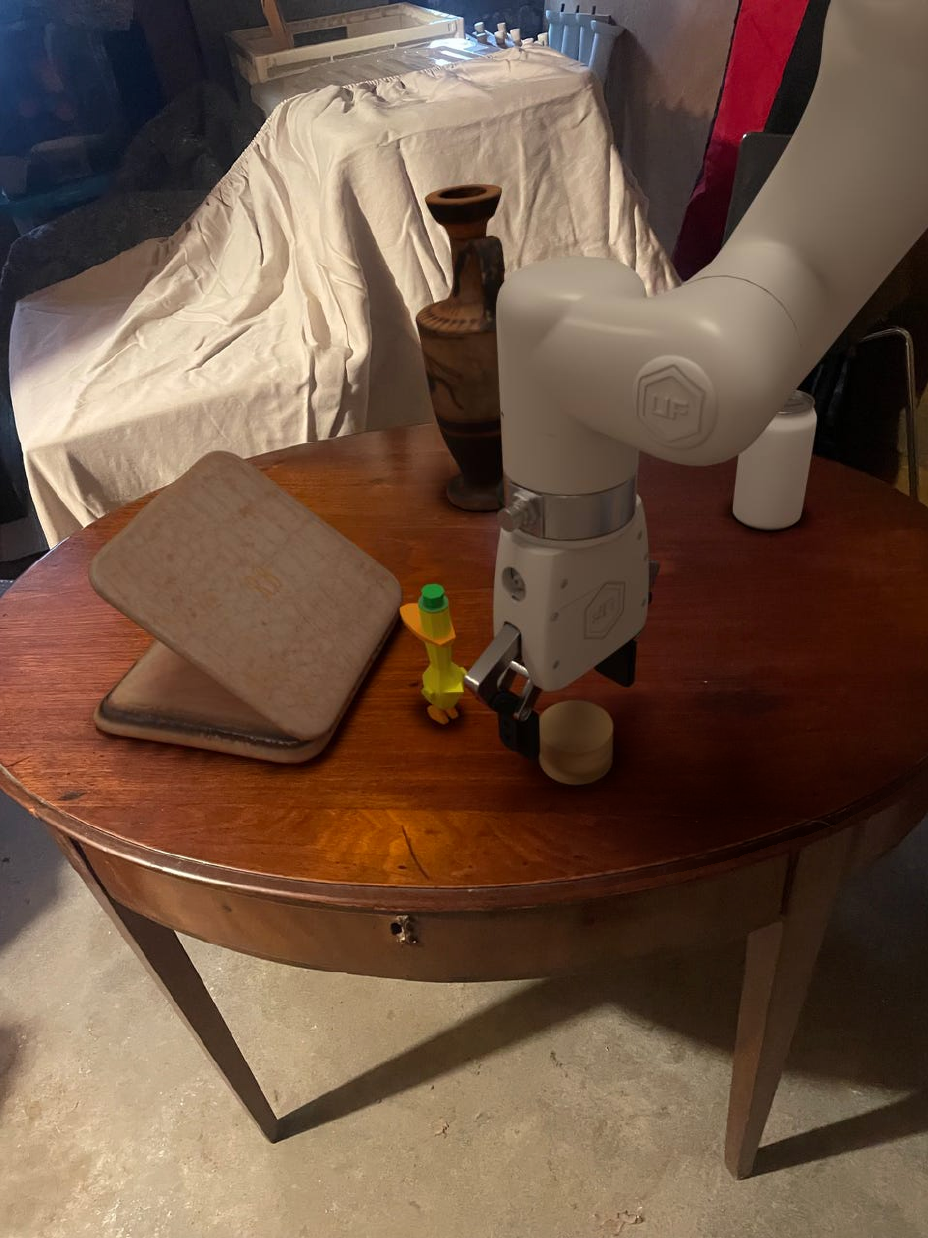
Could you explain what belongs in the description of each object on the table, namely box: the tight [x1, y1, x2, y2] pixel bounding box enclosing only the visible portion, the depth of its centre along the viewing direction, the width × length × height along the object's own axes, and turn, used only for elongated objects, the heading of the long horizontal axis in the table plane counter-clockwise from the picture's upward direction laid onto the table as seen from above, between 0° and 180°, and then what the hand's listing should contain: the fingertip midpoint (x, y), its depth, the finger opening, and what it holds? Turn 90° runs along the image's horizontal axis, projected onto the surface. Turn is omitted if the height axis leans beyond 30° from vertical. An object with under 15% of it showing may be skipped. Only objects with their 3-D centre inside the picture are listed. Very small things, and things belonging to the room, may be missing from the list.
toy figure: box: [399, 583, 468, 725], centre depth 64 cm, size 7×4×12 cm, turn 37°
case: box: [87, 450, 403, 764], centre depth 69 cm, size 20×21×16 cm
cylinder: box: [538, 699, 614, 786], centre depth 62 cm, size 5×5×3 cm
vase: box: [414, 183, 506, 512], centre depth 86 cm, size 11×11×30 cm
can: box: [732, 389, 818, 531], centre depth 83 cm, size 6×6×12 cm
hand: (568, 712), depth 60 cm, fingers open, 9 cm apart
